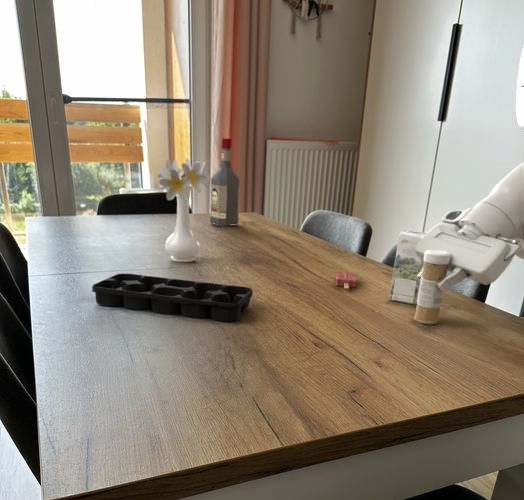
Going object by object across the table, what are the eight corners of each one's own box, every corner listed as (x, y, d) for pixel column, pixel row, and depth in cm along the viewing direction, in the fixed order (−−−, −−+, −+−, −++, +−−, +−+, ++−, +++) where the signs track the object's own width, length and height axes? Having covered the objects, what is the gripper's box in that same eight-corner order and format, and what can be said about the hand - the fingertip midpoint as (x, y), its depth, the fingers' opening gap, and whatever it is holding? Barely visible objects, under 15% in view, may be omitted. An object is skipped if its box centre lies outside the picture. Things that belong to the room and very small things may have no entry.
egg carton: (109, 288, 107) (108, 271, 106) (253, 296, 107) (253, 279, 106) (80, 315, 91) (78, 294, 89) (250, 324, 91) (251, 304, 90)
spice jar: (429, 317, 101) (442, 248, 96) (442, 325, 97) (456, 254, 92) (408, 318, 100) (420, 249, 95) (421, 325, 96) (433, 254, 91)
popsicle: (337, 283, 114) (336, 269, 128) (336, 291, 114) (335, 276, 128) (357, 285, 113) (354, 271, 127) (356, 293, 114) (353, 278, 128)
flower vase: (157, 268, 125) (154, 159, 116) (161, 252, 142) (159, 156, 133) (210, 269, 127) (212, 162, 118) (208, 253, 144) (210, 158, 135)
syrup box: (419, 299, 113) (431, 232, 107) (415, 305, 108) (427, 236, 102) (393, 294, 115) (404, 229, 109) (388, 301, 110) (398, 232, 104)
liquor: (226, 222, 199) (229, 138, 188) (241, 225, 193) (244, 139, 181) (207, 223, 194) (208, 137, 182) (221, 227, 187) (223, 138, 176)
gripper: (533, 255, 87) (474, 312, 88) (455, 233, 105) (406, 281, 106) (519, 228, 84) (458, 288, 85) (441, 210, 102) (391, 260, 102)
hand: (429, 284), depth 95 cm, fingers closed on spice jar, 4 cm apart
